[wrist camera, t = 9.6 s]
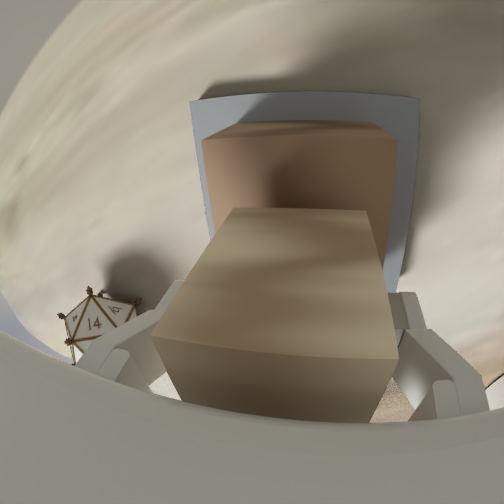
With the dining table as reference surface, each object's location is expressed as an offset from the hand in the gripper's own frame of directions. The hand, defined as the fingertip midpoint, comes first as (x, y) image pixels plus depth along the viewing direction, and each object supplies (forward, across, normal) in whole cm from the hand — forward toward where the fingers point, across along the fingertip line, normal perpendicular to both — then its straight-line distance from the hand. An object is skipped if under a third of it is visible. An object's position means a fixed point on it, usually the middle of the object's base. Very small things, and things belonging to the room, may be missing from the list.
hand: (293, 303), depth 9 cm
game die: (+10, -17, -11) cm, 23 cm away
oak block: (+2, 0, 0) cm, 2 cm away
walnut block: (+8, 0, 0) cm, 8 cm away
